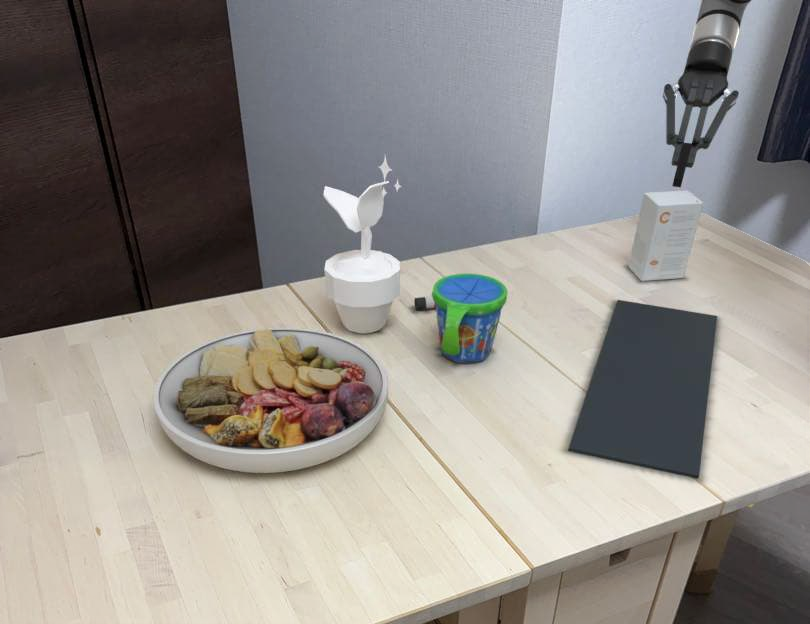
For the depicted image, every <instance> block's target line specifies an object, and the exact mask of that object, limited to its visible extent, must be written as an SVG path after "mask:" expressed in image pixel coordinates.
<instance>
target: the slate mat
mask: <svg viewBox="0 0 810 624" xmlns="http://www.w3.org/2000/svg"><path fill="white" fill-rule="evenodd" d="M717 320H718V316H717V315H713V314H708V313H703V312H695V311H689V310H683V309H677V308H671V307H665V306H658V305H652V304H647V303H639V302H634V301H629V300H628V301H627V300H622V299H617V301H616V304H615V307H614V310H613V313H612V316H611V318H610V323H609V324H608V329H607V331H606V333H605V337H604V340H603V343H602V347H601V349H600V352H599V356H598V357H597V361H596V364H595V368H594V371H593V375H592V376H591V380H590V382H589V386H588V389H587V392H586V395H585V397H584V401H583V404H582V406H581V410H580V413H579V416H578V419H577V421H576V425H575V428H574V431H573V434H572V437H571V440H570V442H569V446H568V450H567V451H568V452H571V453H576V454H580V455H584V456H585V455H586V456H591V457H595V458H598V459H599V458H600V459H605V460H609V461H613V462H618V463H623V464H628V465H632V466H637V467H642V468H647V469H651V470H656V471H659V472H665V473H669V474H675V475H678V476H684V477H688V478H693V479H696V480H697V479H699V477H700V471H701V463H702V453H703V445H704V437H705V427H706V419H707V409H708V400H709V393H710V384H711V375H712V366H713V357H714V348H715V340H716V339H715V338H716V330H717Z"/></svg>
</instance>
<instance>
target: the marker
mask: <svg viewBox="0 0 810 624" xmlns="http://www.w3.org/2000/svg"><path fill="white" fill-rule="evenodd" d="M413 301H414V303H413V304H414V309H415V310H416V311H421V310H422V311H423V310H434V309H436V305H435V302H434V300H433V298H432V295H427V296H421V297H420V296H419V297H415V298H414V300H413Z"/></svg>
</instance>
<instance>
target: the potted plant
mask: <svg viewBox="0 0 810 624" xmlns="http://www.w3.org/2000/svg"><path fill="white" fill-rule="evenodd" d="M386 155H387V154H384V159H383V162H382V164H381V165H379V166H378V168H379V169H380V170H381V172H382V176H383V181H381V182H378V183H374V184H371V185H369V186H368V187H367V188H366V189H365V190H364V191H363V192H362V194H361V195H359V196H358V197H357V196H355V195H352V194H351V193H348V192H346V191H343V190H341V189H337V188H333V187H330V186H327V185H325V186H324V188H323V189H324V190H323V198H324V199H325V200H326V202H327V203H328V204H329V205H330V206H331V207H332V208H333V209H334V211H336V213H337V215H339V217H340V219H341V220H342V222H343V223H344V225H345V227H346V228H347V229H348V230H350V231H351V232H353V233H354V234H357V233H359V232H360V234H361V237H360V238H361V241H360V249H353V250H348V251H343V252H339V253H336V254H334V255H332V256H331V257H330V258H328V259H326V260H325V264H324V268H323V269H324V270H323V271H324V286H325V295H326V296H327V297H328V298H329V299H331V301H333V303H334V305H335V308H336V310H337V313H338V315H339V317H340V320H341V323H342V325H343V326H344V328H346V329H347V330H348V331H350V332H353V333H356V334H372V333H375V332H378V331H380V330H381V329H383V328H384V327H385V325H386V323H387V319H388V317H389V313H390V311H391V308H392V304H393V301H394V300H396V299H397V298H398V297H399V296H400V295H401V289H400V288H401V261H400V260H398V259H397V258H396V257H394V256H393V255H392V254H390V253H386V252H384V251H383V252H382V250H374V249H371V248H372V239H373V233H372V231H371V228H372V227H373V226H375V225H377V223H378V222H379V220H380V219H381V217H382V216H383V210H384V205H385V204H384V202H385V201H384V199H385V196H386V195H387V194H389V192H387V191H386V189H385V187H384V186H385V185H387V184H389V183H390V181H389V180H386V179H387V175H388V173H389V172H392V171H393V169H392V168H390V167H389V164H388V161H387V156H386ZM393 186H394V188H395V190H396V193H398V191H399V189H400V188H402V187H403V186H402V185H400V183H399V179H397V180H396V182H395V184H393Z"/></svg>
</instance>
